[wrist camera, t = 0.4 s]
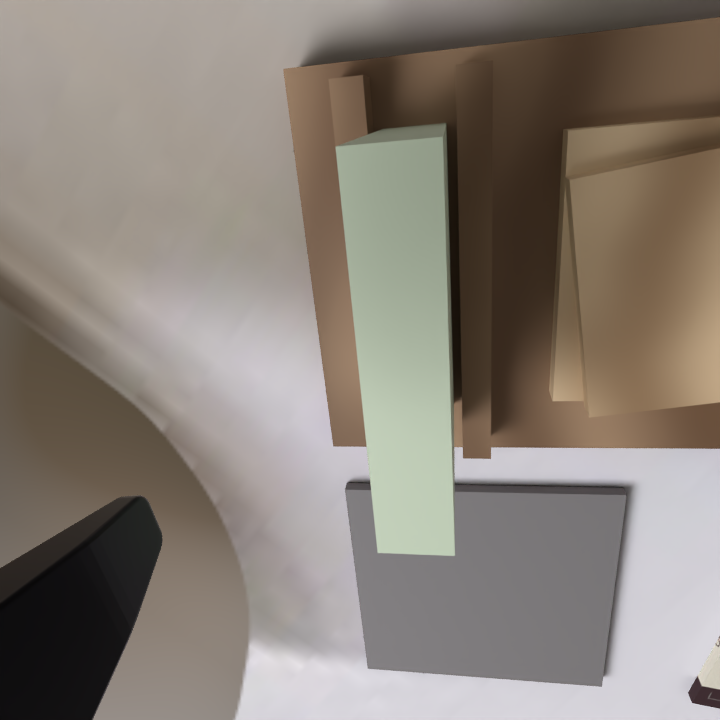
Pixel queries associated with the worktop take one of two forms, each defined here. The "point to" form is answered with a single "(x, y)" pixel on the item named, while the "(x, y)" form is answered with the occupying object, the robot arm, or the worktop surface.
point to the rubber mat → (496, 586)
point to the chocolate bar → (708, 681)
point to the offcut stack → (638, 267)
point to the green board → (403, 329)
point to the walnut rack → (496, 212)
